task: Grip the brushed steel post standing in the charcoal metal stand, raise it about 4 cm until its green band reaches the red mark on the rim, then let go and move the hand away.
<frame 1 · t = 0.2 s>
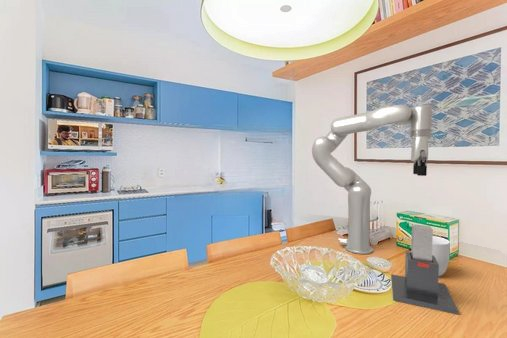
hand: (419, 174, 109), 37 cm above the table, tool pointing down, fingers open, 9 cm apart
stand: (420, 294, 82), on the table
mug: (428, 273, 97), on the table
post: (421, 257, 81), point 12 cm above the table, slide at 0.0 cm
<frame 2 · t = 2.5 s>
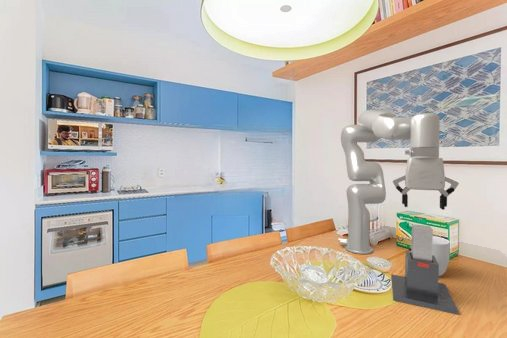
hand: (423, 207, 80), 28 cm above the table, tool pointing down, fingers open, 9 cm apart
nothing on the table moved.
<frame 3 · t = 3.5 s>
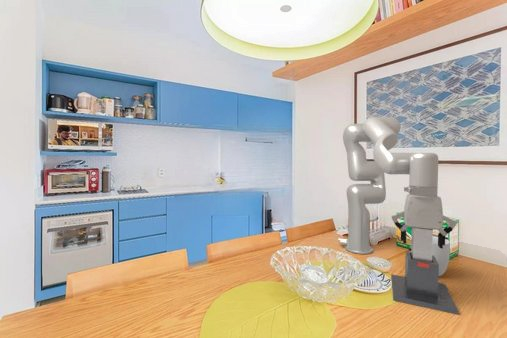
hand: (421, 244, 81), 16 cm above the table, tool pointing down, fingers open, 9 cm apart
nothing on the table moved.
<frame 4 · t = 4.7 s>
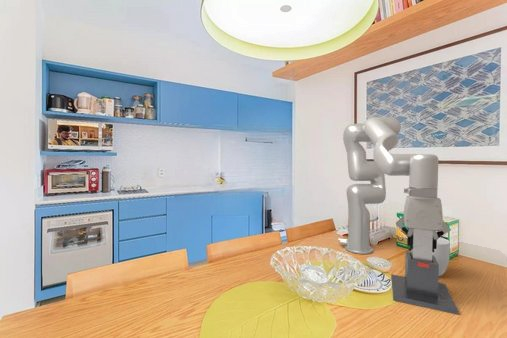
hand: (421, 248, 81), 15 cm above the table, tool pointing down, fingers closed on post, 5 cm apart
post: (421, 257, 81), point 12 cm above the table, slide at 0.0 cm, touching gripper
everything else where it was.
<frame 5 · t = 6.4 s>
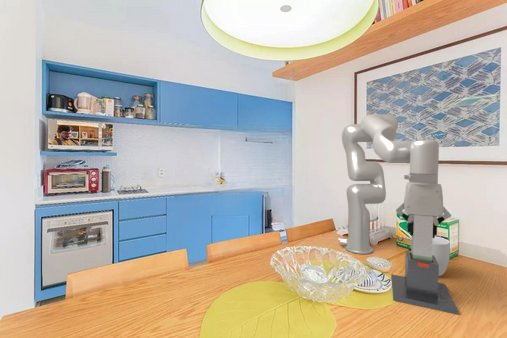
hand: (421, 235, 81), 19 cm above the table, tool pointing down, fingers closed on post, 5 cm apart
post: (421, 244, 81), point 16 cm above the table, slide at 4.4 cm, touching gripper
everything else where it was.
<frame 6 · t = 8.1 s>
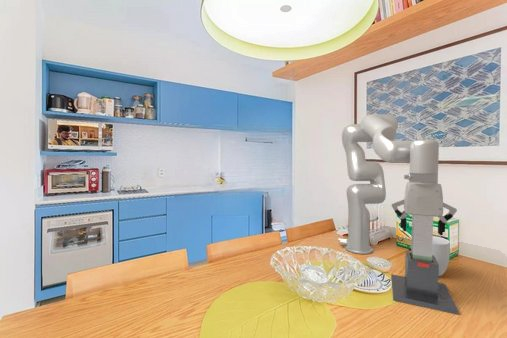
hand: (421, 232, 81), 20 cm above the table, tool pointing down, fingers open, 9 cm apart
post: (421, 244, 81), point 16 cm above the table, slide at 4.5 cm
everything else where it was.
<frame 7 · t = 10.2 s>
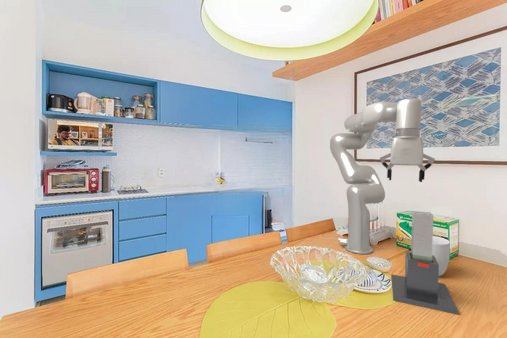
hand: (404, 180, 93), 36 cm above the table, tool pointing down, fingers open, 9 cm apart
nothing on the table moved.
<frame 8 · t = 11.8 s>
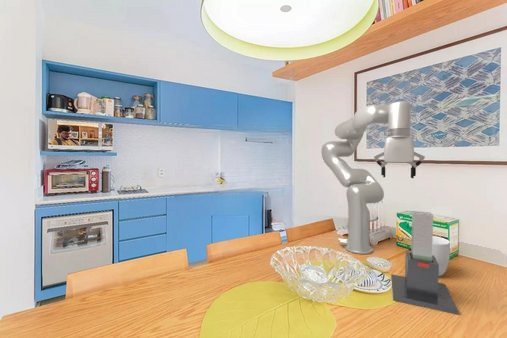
hand: (397, 177, 100), 36 cm above the table, tool pointing down, fingers open, 9 cm apart
nothing on the table moved.
at the end: post slide at 4.5 cm; the gripper is holding nothing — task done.
